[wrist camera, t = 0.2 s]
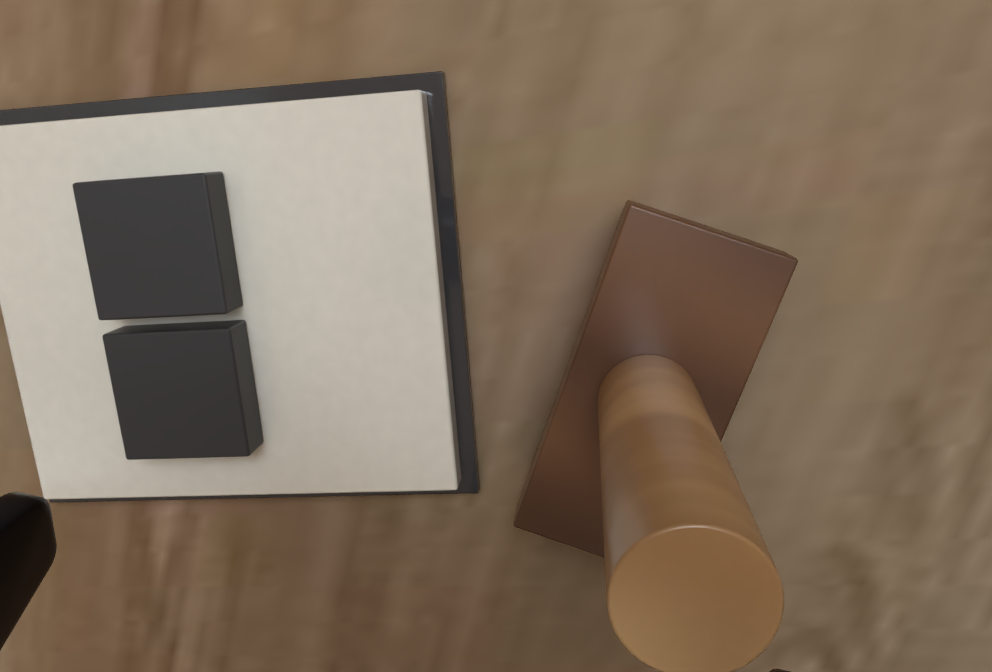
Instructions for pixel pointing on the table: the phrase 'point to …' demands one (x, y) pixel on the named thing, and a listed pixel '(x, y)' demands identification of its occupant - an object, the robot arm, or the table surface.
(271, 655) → the table surface
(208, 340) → the black piece
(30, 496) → the robot arm
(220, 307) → the black piece
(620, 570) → the cylinder on rectangular base
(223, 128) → the white notepad
